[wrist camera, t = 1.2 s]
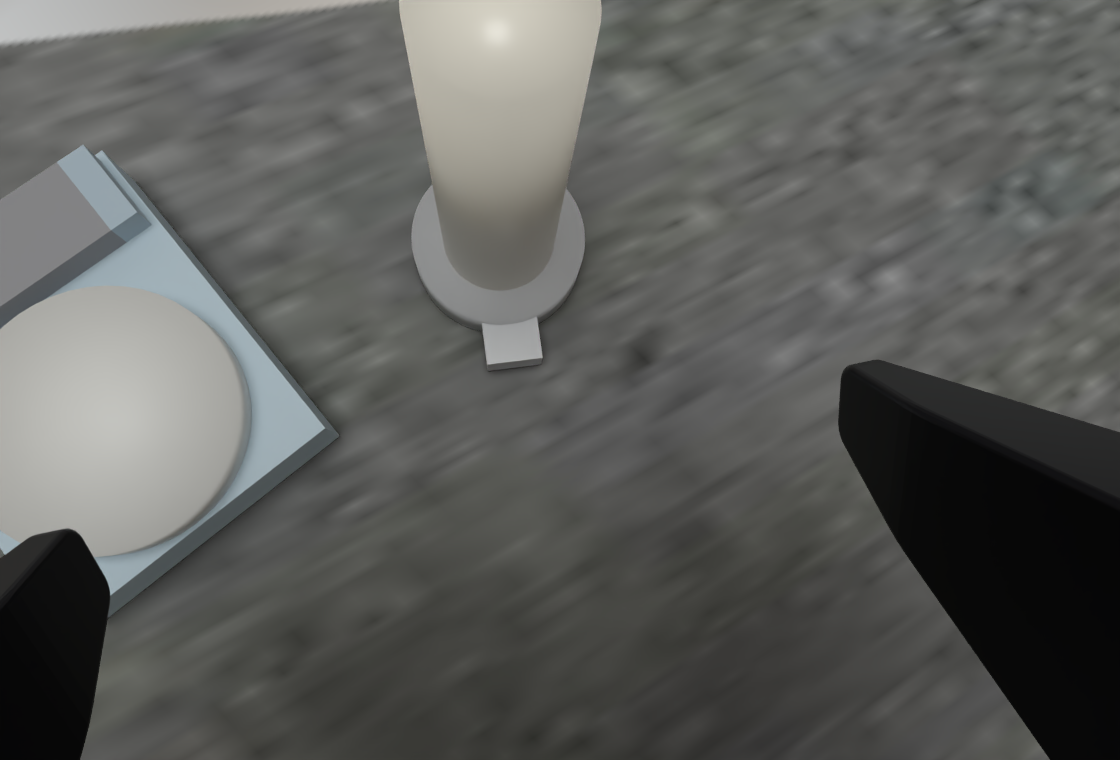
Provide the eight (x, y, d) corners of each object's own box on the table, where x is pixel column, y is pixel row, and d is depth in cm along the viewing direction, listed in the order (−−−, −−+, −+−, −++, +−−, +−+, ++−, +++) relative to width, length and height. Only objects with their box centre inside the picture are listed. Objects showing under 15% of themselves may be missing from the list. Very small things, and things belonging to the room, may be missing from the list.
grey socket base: (340, 435, 23) (316, 423, 20) (102, 622, 22) (40, 638, 19) (134, 180, 24) (83, 132, 21) (-107, 344, 22) (-198, 317, 20)
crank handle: (407, 185, 24) (326, -124, 13) (567, 170, 25) (630, -142, 13) (430, 378, 24) (364, 236, 12) (596, 358, 24) (692, 202, 12)
